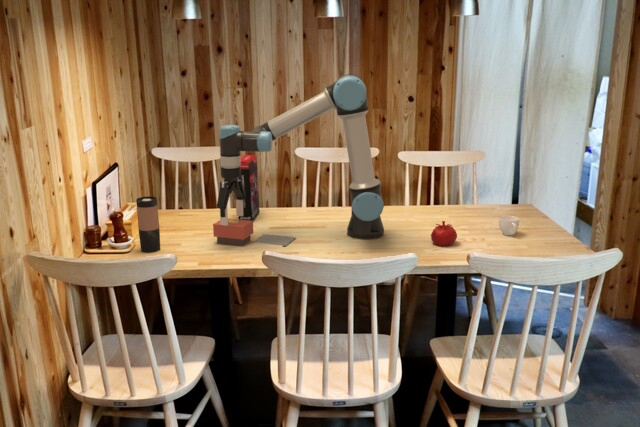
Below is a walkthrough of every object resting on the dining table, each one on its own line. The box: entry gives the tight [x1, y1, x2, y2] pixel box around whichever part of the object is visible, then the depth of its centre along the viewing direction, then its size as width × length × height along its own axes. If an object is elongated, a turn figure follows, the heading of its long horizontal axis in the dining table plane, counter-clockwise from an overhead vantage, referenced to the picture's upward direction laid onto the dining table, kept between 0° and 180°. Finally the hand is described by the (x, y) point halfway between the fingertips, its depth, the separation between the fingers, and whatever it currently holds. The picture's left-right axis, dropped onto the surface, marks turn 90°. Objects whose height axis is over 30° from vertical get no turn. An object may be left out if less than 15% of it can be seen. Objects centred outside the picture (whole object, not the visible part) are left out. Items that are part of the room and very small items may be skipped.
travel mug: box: [135, 195, 161, 254], centre depth 235 cm, size 8×8×20 cm
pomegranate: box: [430, 220, 458, 247], centre depth 242 cm, size 10×10×9 cm
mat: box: [252, 233, 297, 248], centre depth 247 cm, size 14×11×1 cm
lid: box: [212, 218, 254, 240], centre depth 243 cm, size 13×9×5 cm
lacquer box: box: [216, 235, 251, 247], centre depth 244 cm, size 11×7×8 cm, turn 72°
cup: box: [498, 215, 520, 237], centre depth 253 cm, size 8×10×7 cm
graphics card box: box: [236, 154, 260, 222], centre depth 277 cm, size 17×7×27 cm, turn 175°
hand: (232, 220), depth 242 cm, fingers open, 13 cm apart
